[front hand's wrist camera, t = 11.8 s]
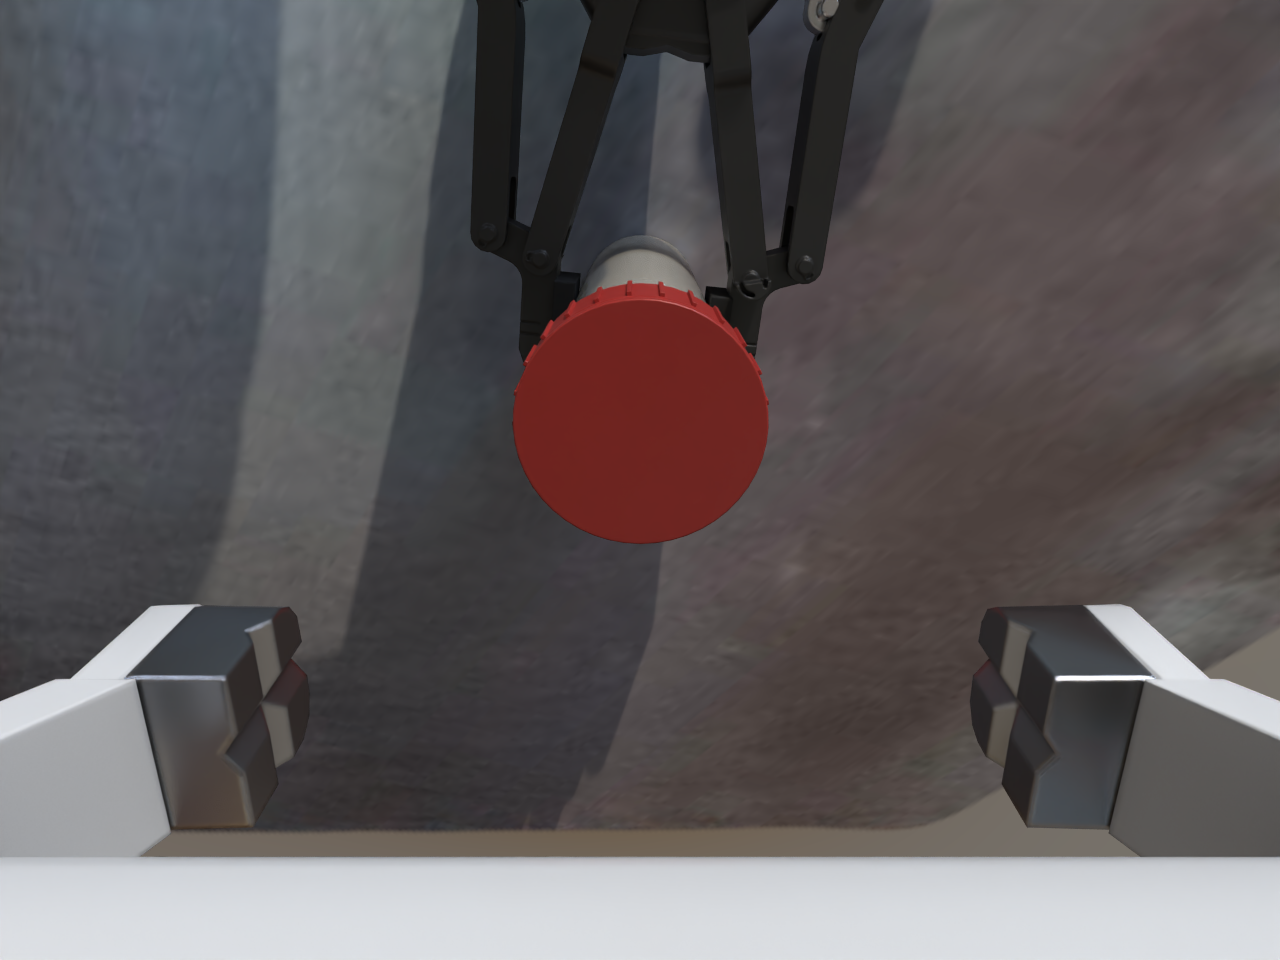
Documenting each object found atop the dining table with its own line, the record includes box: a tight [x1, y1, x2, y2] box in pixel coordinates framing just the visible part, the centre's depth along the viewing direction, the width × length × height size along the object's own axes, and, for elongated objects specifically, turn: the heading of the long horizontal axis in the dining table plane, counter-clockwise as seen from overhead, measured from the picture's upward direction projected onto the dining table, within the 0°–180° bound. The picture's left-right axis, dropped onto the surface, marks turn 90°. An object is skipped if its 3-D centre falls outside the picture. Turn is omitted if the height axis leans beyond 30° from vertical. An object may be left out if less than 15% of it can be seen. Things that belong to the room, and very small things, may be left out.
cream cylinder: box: [575, 235, 706, 303], centre depth 29 cm, size 5×5×20 cm
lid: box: [512, 280, 769, 544], centre depth 20 cm, size 6×6×2 cm
